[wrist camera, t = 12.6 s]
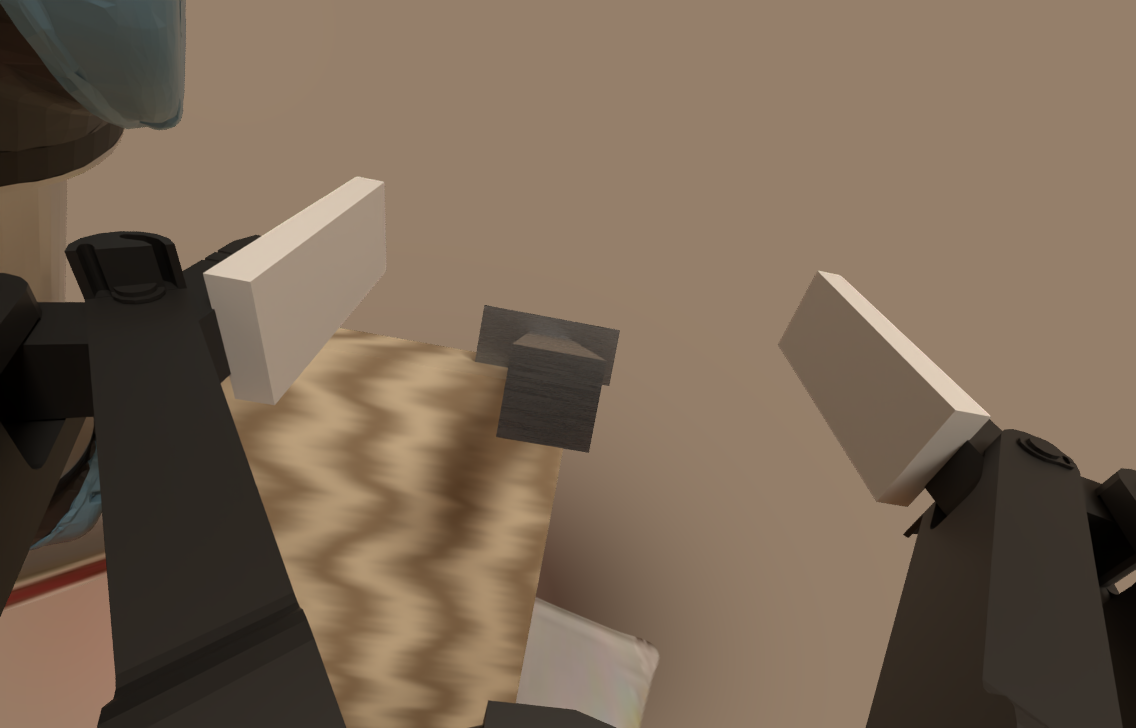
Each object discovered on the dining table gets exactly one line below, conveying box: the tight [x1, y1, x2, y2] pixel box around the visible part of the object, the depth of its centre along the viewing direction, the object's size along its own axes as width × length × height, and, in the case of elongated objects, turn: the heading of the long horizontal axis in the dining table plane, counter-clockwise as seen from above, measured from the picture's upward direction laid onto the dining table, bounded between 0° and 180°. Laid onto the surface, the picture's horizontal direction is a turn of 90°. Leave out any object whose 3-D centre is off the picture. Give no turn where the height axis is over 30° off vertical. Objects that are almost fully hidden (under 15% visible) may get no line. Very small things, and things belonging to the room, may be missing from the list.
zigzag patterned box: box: [221, 328, 563, 728], centre depth 44 cm, size 28×20×30 cm
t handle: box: [475, 305, 620, 452], centre depth 32 cm, size 12×30×5 cm, turn 3°
